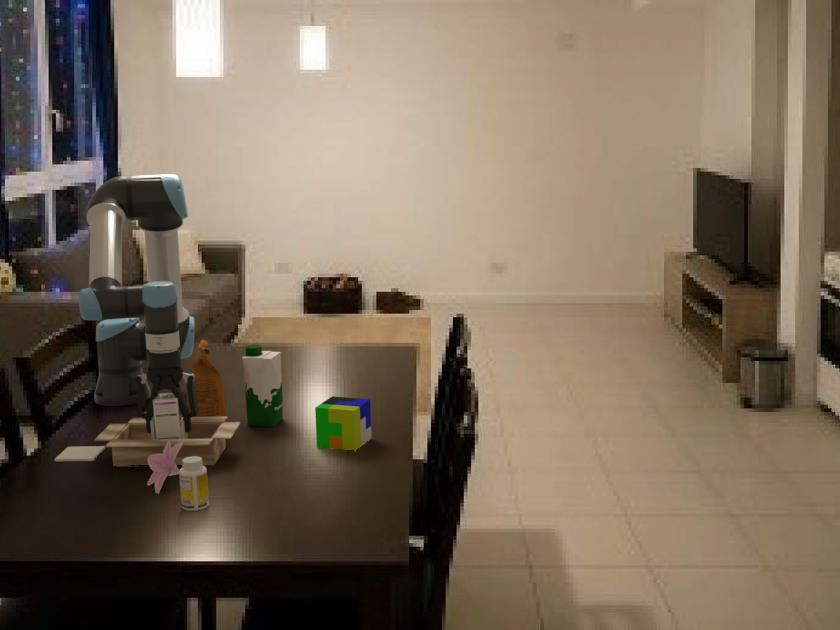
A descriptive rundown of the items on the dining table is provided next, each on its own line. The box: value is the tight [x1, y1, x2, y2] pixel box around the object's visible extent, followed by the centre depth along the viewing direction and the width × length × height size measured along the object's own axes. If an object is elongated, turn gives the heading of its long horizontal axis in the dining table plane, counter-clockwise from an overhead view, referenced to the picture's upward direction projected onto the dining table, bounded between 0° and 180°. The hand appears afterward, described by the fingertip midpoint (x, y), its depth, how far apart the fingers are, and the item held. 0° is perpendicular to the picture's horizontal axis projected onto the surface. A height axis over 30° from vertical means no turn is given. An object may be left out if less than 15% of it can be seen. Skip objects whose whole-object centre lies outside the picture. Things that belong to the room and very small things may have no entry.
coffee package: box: [186, 339, 227, 422], centre depth 268 cm, size 10×12×22 cm
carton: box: [94, 415, 241, 467], centre depth 248 cm, size 21×31×6 cm
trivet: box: [54, 445, 106, 462], centre depth 251 cm, size 9×9×1 cm
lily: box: [146, 440, 183, 495], centre depth 229 cm, size 12×12×10 cm
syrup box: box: [153, 392, 182, 439], centre depth 247 cm, size 6×6×14 cm
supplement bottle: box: [178, 456, 210, 512], centre depth 216 cm, size 6×6×10 cm
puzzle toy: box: [314, 395, 372, 452], centre depth 254 cm, size 10×10×10 cm
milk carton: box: [241, 344, 284, 427], centre depth 272 cm, size 9×9×20 cm
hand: (170, 445), depth 248 cm, fingers closed on syrup box, 6 cm apart
